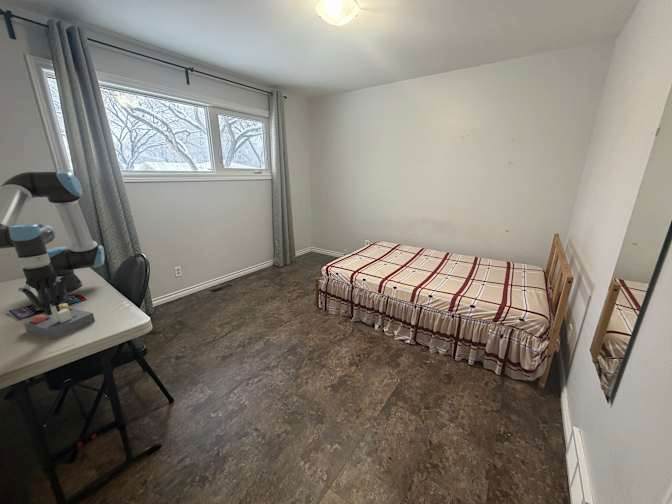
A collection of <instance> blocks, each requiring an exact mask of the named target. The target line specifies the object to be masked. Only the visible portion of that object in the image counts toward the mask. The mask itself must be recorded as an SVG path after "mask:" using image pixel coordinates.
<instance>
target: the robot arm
mask: <svg viewBox="0 0 672 504" xmlns="http://www.w3.org/2000/svg"><path fill="white" fill-rule="evenodd" d="M83 193H84V192H83V189H82V184H81V183H80V181H79V179H78V178H77V177H76V176H75V175H74V174H73V173H71V172H68V171H26V172H22V173H19V174H15V175H13V176H12V177H9V178H8V179H7V180H5V181H4V182H3V183H2V184H1V185H0V249H10V248H14V250H15V252H16V254H17V258H18V260H19V263H20V266H21V267H22V271H23V272H22V273H23V275H24V277H25V279H26V281H25V285H24V286H23V287H20V288H18V291H19V292H21V293H23V294H24V295H25V296H26V297H27V298H28V299H29V301H30V302H31V304H33V305H34V307H35V308H37V309H40V310H41V309H44V313H45V315H50V318H51V321H54V322H57V321H60V317H59V315H58V312H59V311H60V308H59V304H60V302H62V301H63V286H64V285H65V288H66V291H67V293H68V292H72V291H74V290H78V289H80V288H81V287H82V286H83V282H82V280H81V279H80V278H79V276H78V275H77V274H76V273H75V271H74V270H80V269H88V268H96V267H100V266H103V265H104V263H105V250H104V246H103V245H99V244H98V242H97V241H96V240H93V239H92V235H91V233H90V229H89V228H88V225H87V223H86V219H85V217H84V215H83V212H82V209H81V206H80V204H79V201H80V200H81V197H82V196H83ZM35 198H47V200H48V202H49V203H51V204H53V205H54V206H55V208H56V210H57V213H58V215H59V217H60V220H61V223H62V225H63V226H64V229H65V231H66V234H67V236H68V239H69V241H70V243H71V245H70V246H69V248H68V247H67V246H57V247H52V248H47V247H46V245H47V244H49V243H51V242H52V241H54V240H55V238H56V237H57V231H56V229H55V228H54V227H53V226H51V225H49V224H44V223H43V224H42V223H41V224H36V223H26V224H25V223H24V224H17V223H18V221H19V219H20V217H21V214H22V212H23V211H24V207H25V206H26V204H27V203H29V202H30V201H31V200H32V199H35ZM54 282H56V294H55V291H54V286H53V284H54ZM31 288H32V289H35V291H36V293H37V295H38V298H37V297H36V295H35V294H34V293H33V292H32V291H31V290H32V289H31ZM45 289H46V290H45ZM45 291H47V294H48V297H49V300H50V302H51V304H52V305H50V304H49V301H48V298H47V295H46V292H45Z"/></svg>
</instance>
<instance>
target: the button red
mask: <svg viewBox="0 0 672 504" xmlns="http://www.w3.org/2000/svg"><path fill="white" fill-rule="evenodd" d="M45 315H46V313H45V314H44V313H43V314H42V313H41V314H37V315H34V316H32V317H30V320H32V323H33V324H38V323H41V322H43V321H46V320H47V319H46V316H45Z"/></svg>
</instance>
